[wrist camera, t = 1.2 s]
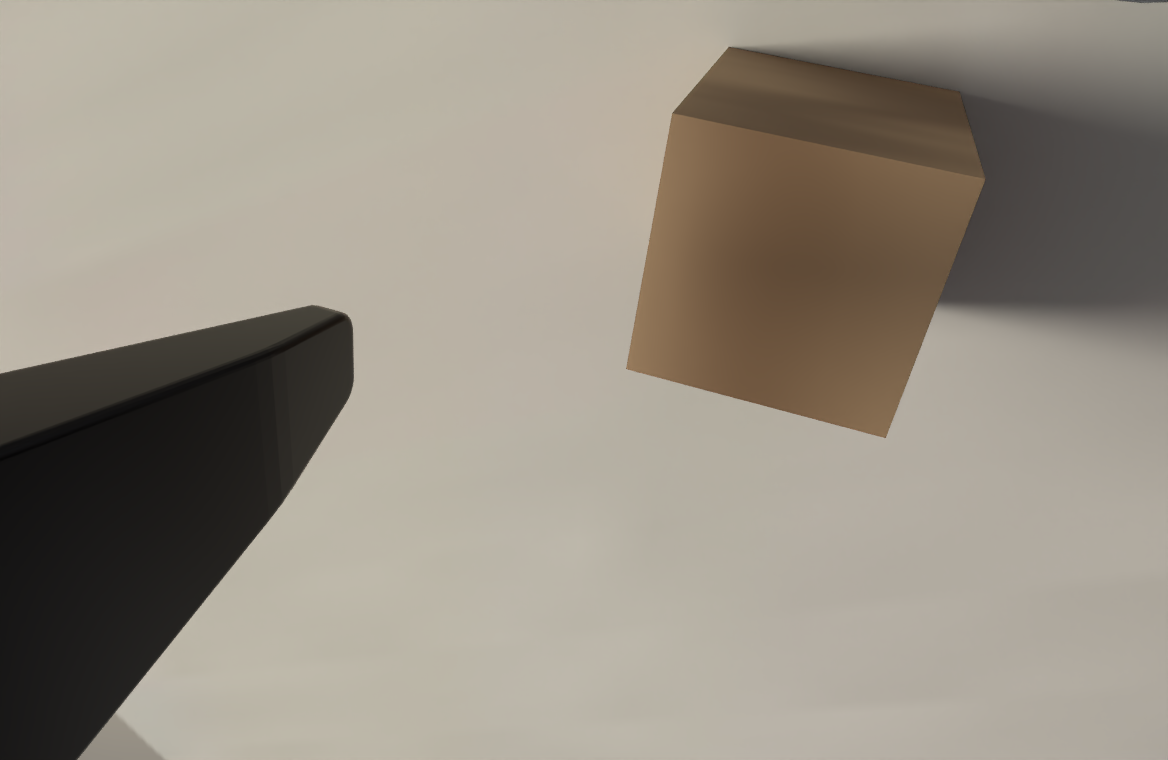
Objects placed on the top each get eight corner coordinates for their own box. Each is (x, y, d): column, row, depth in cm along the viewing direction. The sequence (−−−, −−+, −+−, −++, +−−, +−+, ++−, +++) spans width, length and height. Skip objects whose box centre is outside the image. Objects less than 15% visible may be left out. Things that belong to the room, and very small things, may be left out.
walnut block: (959, 91, 15) (985, 179, 11) (886, 299, 17) (885, 438, 13) (729, 46, 16) (672, 113, 12) (687, 251, 18) (626, 369, 14)
